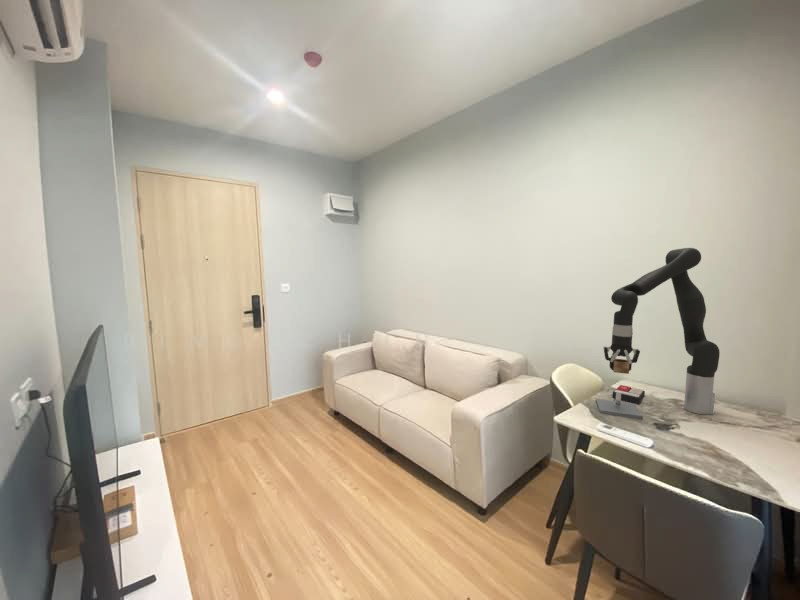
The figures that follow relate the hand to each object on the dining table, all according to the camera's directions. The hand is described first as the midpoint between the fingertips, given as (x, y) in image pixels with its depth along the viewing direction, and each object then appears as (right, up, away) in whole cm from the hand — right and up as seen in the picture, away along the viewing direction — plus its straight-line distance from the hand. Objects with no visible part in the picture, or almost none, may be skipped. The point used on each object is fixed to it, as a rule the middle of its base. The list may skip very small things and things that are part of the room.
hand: (619, 370), depth 148 cm
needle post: (0, -17, +2) cm, 17 cm away
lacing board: (0, -19, +2) cm, 19 cm away
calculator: (+16, -18, +16) cm, 29 cm away
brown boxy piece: (0, 0, 0) cm, 1 cm away
